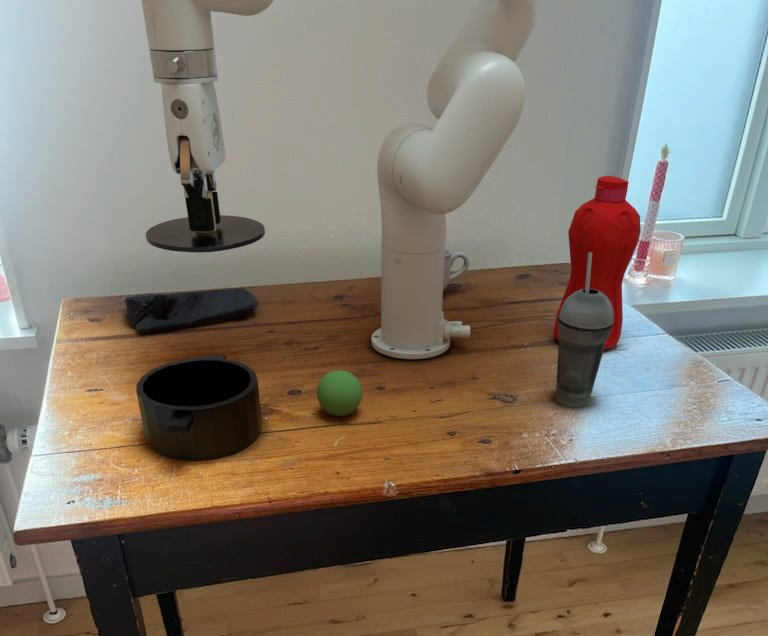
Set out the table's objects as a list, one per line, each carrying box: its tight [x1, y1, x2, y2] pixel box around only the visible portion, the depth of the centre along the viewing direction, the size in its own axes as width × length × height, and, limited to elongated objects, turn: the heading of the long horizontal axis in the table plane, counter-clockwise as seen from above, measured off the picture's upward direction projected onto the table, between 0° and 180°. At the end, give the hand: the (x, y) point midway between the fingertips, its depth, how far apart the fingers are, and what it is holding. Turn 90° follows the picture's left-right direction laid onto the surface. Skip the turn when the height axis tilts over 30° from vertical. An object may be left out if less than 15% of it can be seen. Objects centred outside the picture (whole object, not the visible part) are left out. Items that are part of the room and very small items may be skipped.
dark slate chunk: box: [124, 287, 258, 334], centre depth 129 cm, size 15×22×5 cm
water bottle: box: [553, 174, 642, 350], centre depth 115 cm, size 9×11×25 cm
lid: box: [145, 190, 266, 253], centre depth 99 cm, size 16×16×6 cm
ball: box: [316, 369, 363, 417], centre depth 100 cm, size 6×6×6 cm
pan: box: [135, 353, 263, 462], centre depth 95 cm, size 15×20×7 cm
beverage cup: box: [555, 252, 614, 408], centre depth 99 cm, size 7×7×20 cm
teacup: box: [443, 247, 470, 291], centre depth 138 cm, size 14×11×8 cm
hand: (205, 225), depth 100 cm, fingers closed on lid, 2 cm apart
